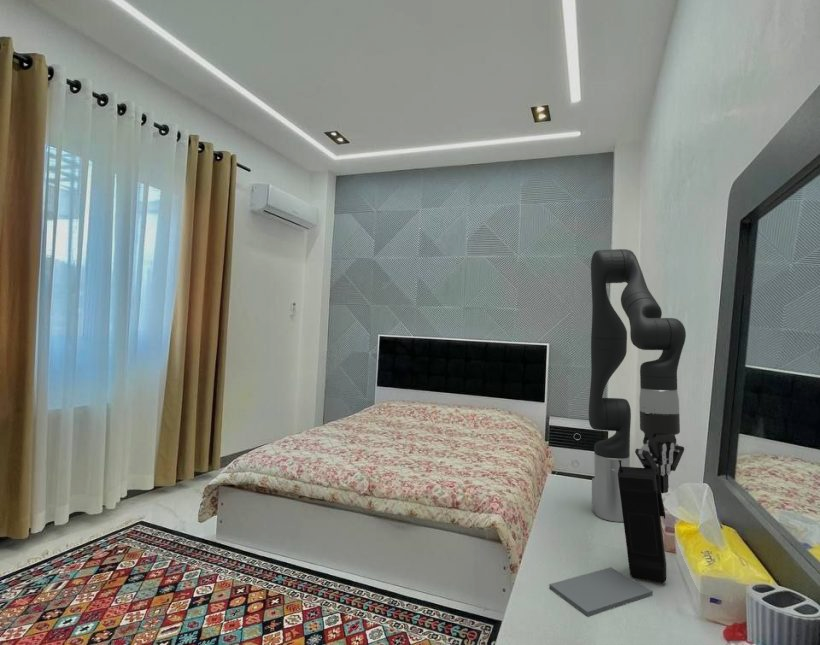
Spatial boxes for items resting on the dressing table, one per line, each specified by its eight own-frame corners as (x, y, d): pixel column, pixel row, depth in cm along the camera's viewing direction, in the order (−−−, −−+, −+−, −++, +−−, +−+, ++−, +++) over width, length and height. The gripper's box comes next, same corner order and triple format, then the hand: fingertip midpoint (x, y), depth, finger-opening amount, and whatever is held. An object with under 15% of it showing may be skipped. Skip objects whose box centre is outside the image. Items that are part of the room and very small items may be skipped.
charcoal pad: (549, 588, 90) (549, 584, 90) (611, 570, 97) (611, 567, 97) (587, 616, 81) (587, 612, 81) (652, 595, 88) (652, 591, 88)
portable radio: (672, 567, 96) (659, 455, 93) (672, 585, 90) (658, 467, 88) (631, 560, 100) (618, 452, 97) (629, 578, 94) (615, 464, 92)
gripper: (663, 406, 103) (665, 483, 102) (622, 409, 97) (624, 490, 96) (696, 410, 96) (698, 493, 95) (654, 414, 91) (656, 501, 90)
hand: (661, 492), depth 96 cm, fingers closed
